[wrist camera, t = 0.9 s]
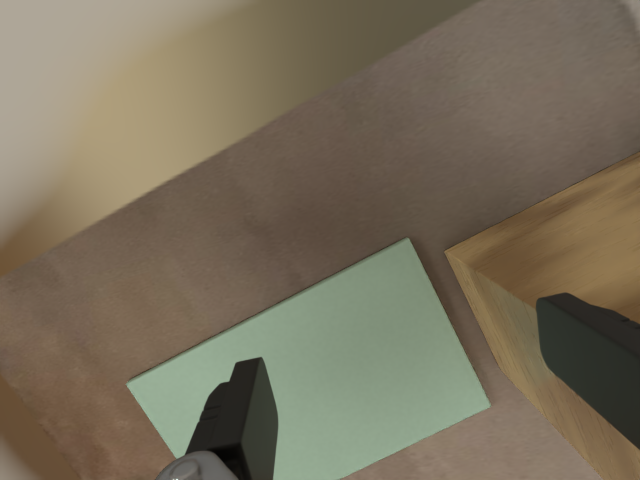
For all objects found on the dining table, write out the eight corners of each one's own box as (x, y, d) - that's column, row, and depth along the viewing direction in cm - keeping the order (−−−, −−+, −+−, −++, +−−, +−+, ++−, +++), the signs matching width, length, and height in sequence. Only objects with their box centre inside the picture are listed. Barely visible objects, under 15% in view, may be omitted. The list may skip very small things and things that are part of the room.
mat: (228, 526, 31) (226, 533, 30) (129, 379, 29) (125, 384, 28) (488, 401, 30) (492, 406, 29) (407, 236, 27) (409, 238, 27)
